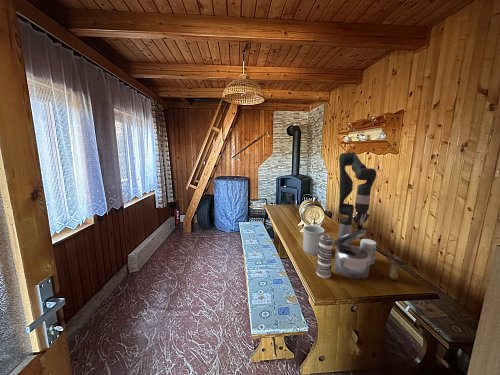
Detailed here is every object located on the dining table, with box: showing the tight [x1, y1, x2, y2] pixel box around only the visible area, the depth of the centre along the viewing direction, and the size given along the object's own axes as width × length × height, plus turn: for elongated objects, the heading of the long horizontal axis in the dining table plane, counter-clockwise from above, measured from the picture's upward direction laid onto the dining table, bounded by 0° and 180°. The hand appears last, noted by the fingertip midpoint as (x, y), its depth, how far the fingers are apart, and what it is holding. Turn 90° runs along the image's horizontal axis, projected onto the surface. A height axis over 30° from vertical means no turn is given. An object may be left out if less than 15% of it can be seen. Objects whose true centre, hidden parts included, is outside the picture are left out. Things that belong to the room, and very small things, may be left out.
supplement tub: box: [359, 238, 377, 266], centre depth 147 cm, size 10×10×15 cm
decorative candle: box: [315, 233, 335, 279], centre depth 131 cm, size 9×9×25 cm
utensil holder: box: [302, 224, 325, 256], centre depth 162 cm, size 15×15×18 cm
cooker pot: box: [333, 244, 371, 280], centre depth 138 cm, size 20×21×12 cm
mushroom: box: [386, 254, 407, 282], centre depth 127 cm, size 9×9×15 cm
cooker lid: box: [333, 227, 368, 246], centre depth 138 cm, size 21×24×3 cm
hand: (359, 229), depth 131 cm, fingers closed
